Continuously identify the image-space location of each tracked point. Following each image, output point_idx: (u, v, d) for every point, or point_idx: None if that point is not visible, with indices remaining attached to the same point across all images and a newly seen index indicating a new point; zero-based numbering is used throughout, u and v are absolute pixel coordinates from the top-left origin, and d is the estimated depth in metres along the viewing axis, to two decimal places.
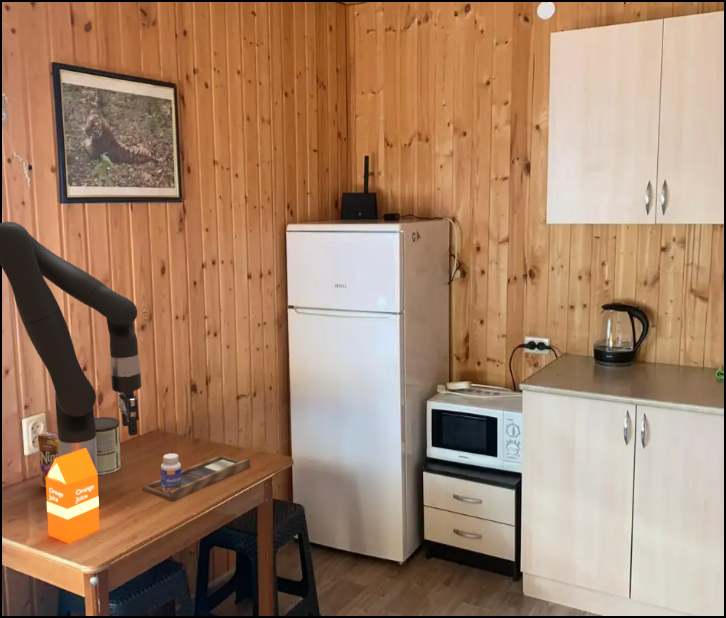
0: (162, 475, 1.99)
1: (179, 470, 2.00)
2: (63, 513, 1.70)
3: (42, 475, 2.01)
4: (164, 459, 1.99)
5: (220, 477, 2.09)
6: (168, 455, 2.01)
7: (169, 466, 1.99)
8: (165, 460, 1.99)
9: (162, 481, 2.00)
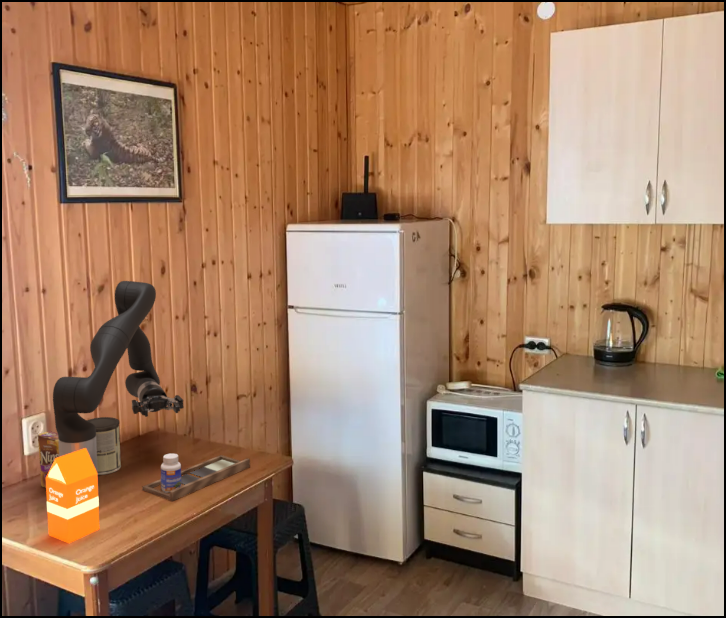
0: (162, 475, 1.99)
1: (179, 470, 2.00)
2: (63, 513, 1.70)
3: (42, 475, 2.01)
4: (164, 459, 1.99)
5: (220, 477, 2.09)
6: (168, 455, 2.01)
7: (169, 466, 1.99)
8: (165, 460, 1.99)
9: (162, 481, 2.00)
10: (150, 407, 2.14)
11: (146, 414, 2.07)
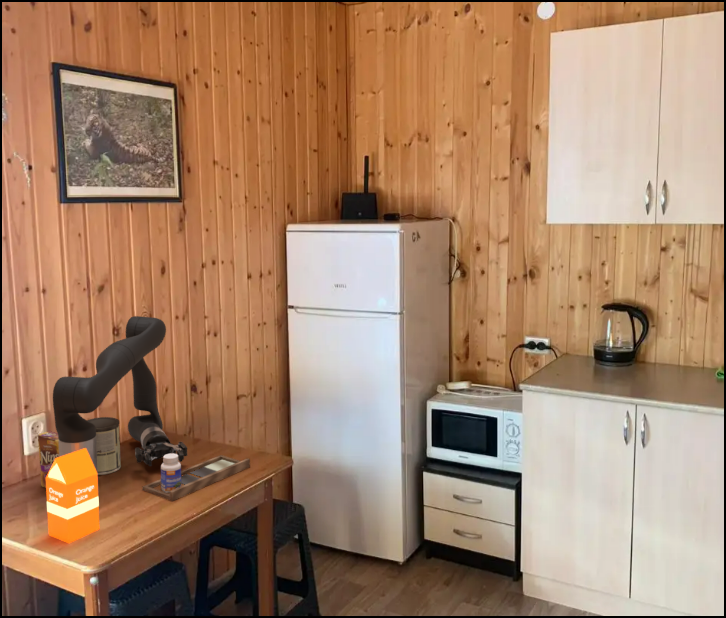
0: (162, 475, 1.99)
1: (179, 470, 2.00)
2: (63, 513, 1.70)
3: (42, 475, 2.01)
4: (164, 459, 1.99)
5: (220, 477, 2.09)
6: (168, 455, 2.01)
7: (169, 466, 1.99)
8: (165, 460, 1.99)
9: (162, 481, 2.00)
10: (154, 455, 2.12)
11: (150, 463, 2.05)
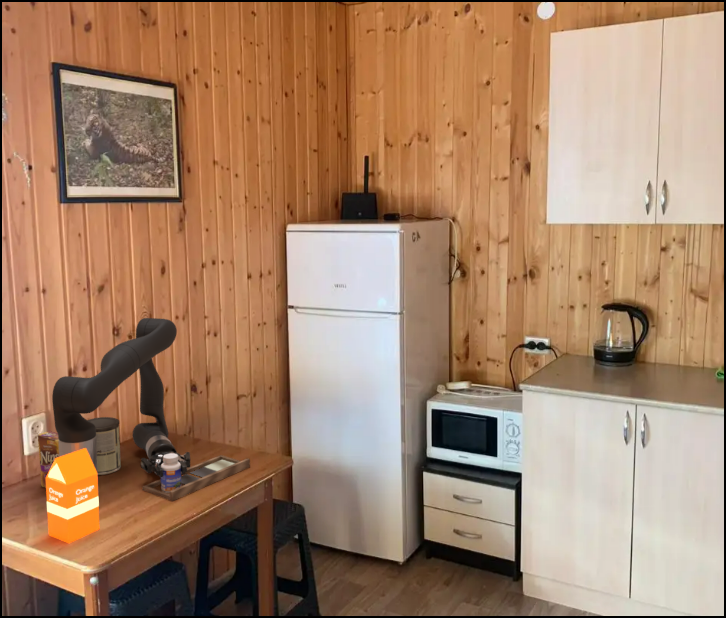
0: None
1: (179, 470, 2.00)
2: (63, 513, 1.70)
3: (42, 475, 2.01)
4: (164, 459, 1.99)
5: (220, 477, 2.09)
6: (168, 455, 2.01)
7: (169, 466, 1.99)
8: (165, 460, 1.99)
9: (162, 481, 2.00)
10: None
11: (161, 474, 1.97)
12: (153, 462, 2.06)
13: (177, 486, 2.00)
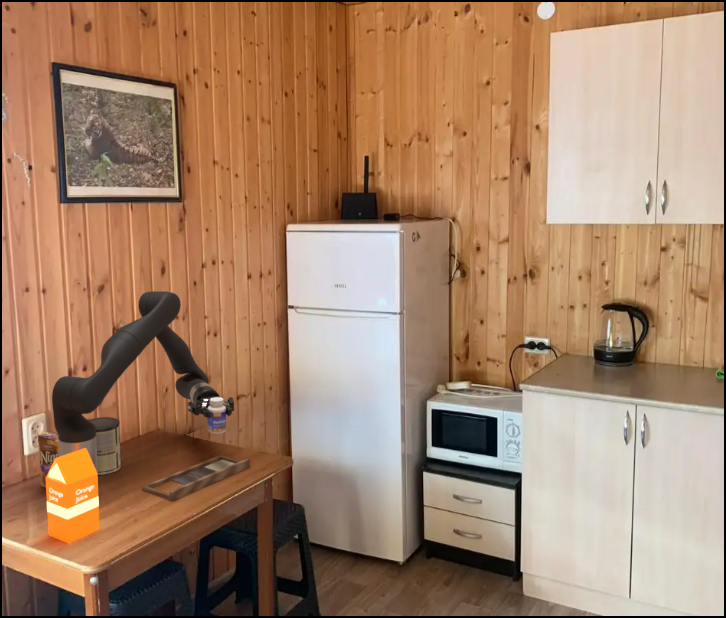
0: None
1: (225, 412, 2.13)
2: (63, 513, 1.70)
3: (42, 475, 2.01)
4: (211, 402, 2.12)
5: (220, 477, 2.09)
6: (214, 398, 2.13)
7: (216, 409, 2.11)
8: (212, 403, 2.12)
9: (209, 423, 2.12)
10: None
11: (208, 416, 2.10)
12: (199, 406, 2.18)
13: (223, 427, 2.13)
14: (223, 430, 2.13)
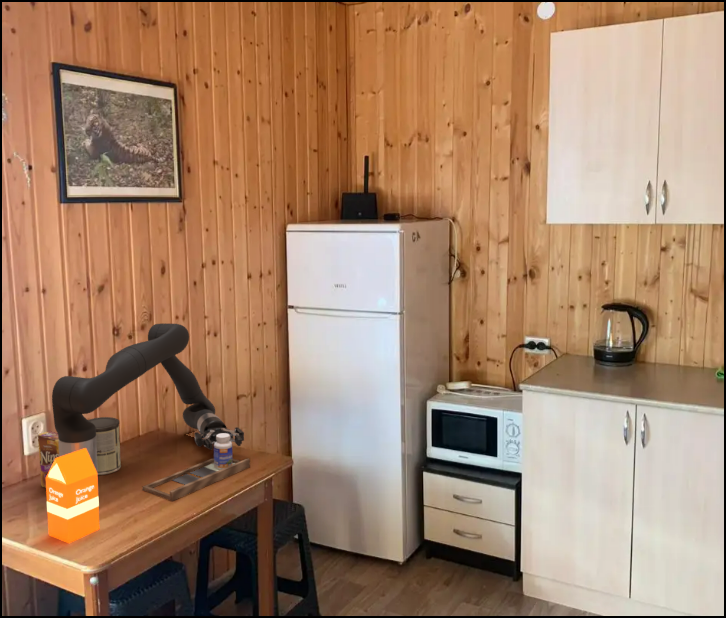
0: (215, 453, 2.16)
1: (231, 448, 2.17)
2: (63, 513, 1.70)
3: (42, 475, 2.01)
4: (217, 438, 2.16)
5: (220, 477, 2.09)
6: (220, 434, 2.17)
7: (222, 445, 2.15)
8: (218, 439, 2.15)
9: (215, 458, 2.16)
10: (213, 440, 2.21)
11: (211, 447, 2.14)
12: (205, 437, 2.22)
13: (229, 463, 2.17)
14: None
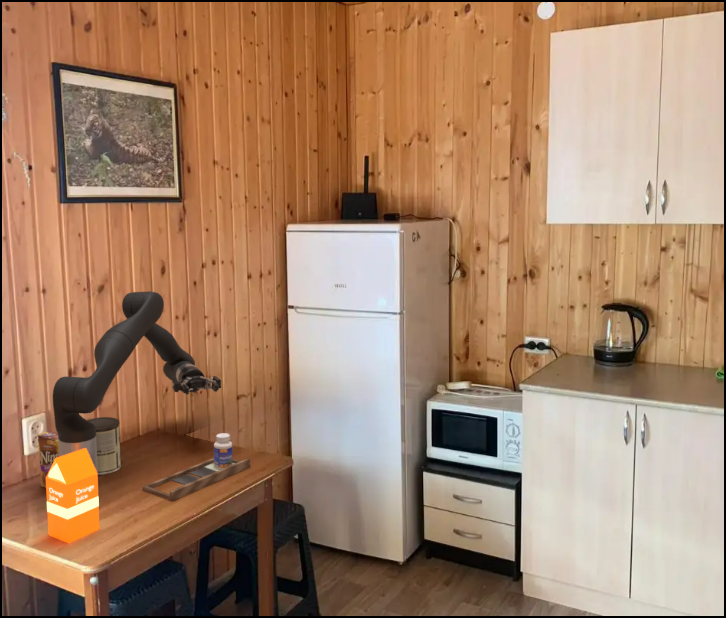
0: (215, 453, 2.16)
1: (231, 448, 2.17)
2: (63, 513, 1.70)
3: (42, 475, 2.01)
4: (217, 438, 2.16)
5: (220, 477, 2.09)
6: (221, 434, 2.17)
7: (222, 445, 2.15)
8: (218, 439, 2.15)
9: (215, 458, 2.16)
10: (190, 386, 2.24)
11: (187, 392, 2.17)
12: None
13: (229, 463, 2.17)
14: None
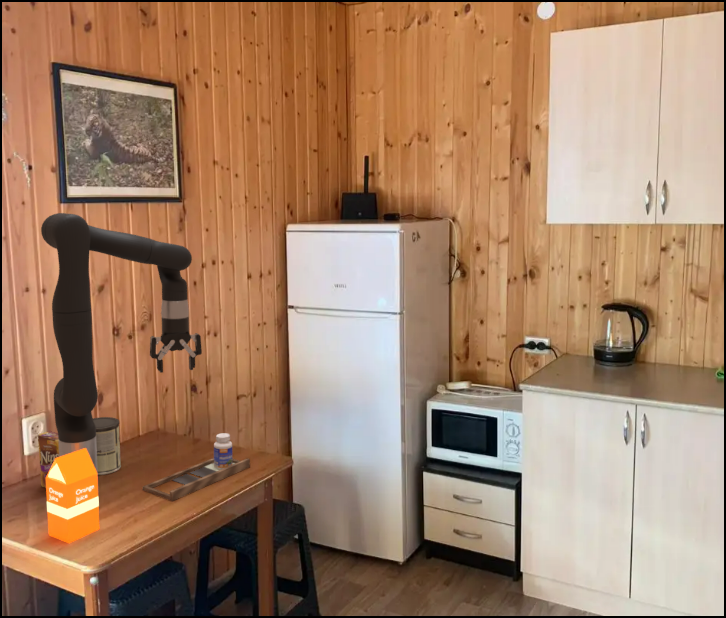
0: (215, 453, 2.16)
1: (231, 448, 2.17)
2: (63, 513, 1.70)
3: (42, 475, 2.01)
4: (217, 438, 2.16)
5: (220, 477, 2.09)
6: (220, 434, 2.17)
7: (222, 445, 2.15)
8: (218, 439, 2.15)
9: (215, 458, 2.16)
10: None
11: None
12: None
13: (229, 463, 2.17)
14: None
